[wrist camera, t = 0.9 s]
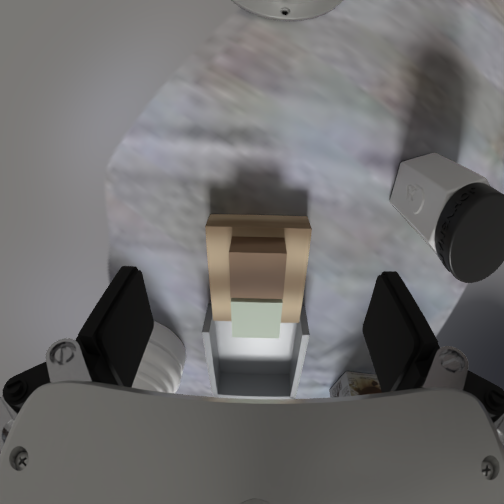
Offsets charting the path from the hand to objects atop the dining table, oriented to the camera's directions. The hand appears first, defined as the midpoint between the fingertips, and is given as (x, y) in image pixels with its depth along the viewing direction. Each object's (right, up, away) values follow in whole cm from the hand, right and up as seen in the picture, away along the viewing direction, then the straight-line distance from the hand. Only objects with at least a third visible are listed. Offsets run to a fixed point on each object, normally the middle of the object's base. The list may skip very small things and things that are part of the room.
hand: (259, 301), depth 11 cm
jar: (+18, +9, +17) cm, 26 cm away
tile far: (0, -4, +21) cm, 21 cm away
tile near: (0, +1, +18) cm, 18 cm away
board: (0, 0, +22) cm, 22 cm away
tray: (0, -11, +28) cm, 30 cm away
